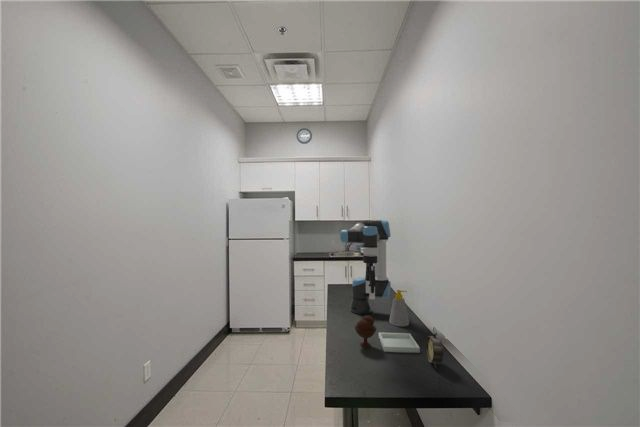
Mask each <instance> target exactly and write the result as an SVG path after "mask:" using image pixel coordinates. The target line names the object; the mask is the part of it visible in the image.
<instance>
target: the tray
mask: <svg viewBox="0 0 640 427" xmlns="http://www.w3.org/2000/svg"><path fill="white" fill-rule="evenodd" d="M378 339H380V340H379V342H380V344H381V347H382V349H383V352H384V353H412V354H416V353H417V354H420V351H421V350H420V349H421V348H420V346H419V344H418V343H417V342H416V340H415V339H414V337H413V336H412V334H411V333H410V332H409V333H407V332H378Z"/></svg>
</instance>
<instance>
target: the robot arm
mask: <svg viewBox="0 0 640 427" xmlns="http://www.w3.org/2000/svg"><path fill="white" fill-rule="evenodd" d="M339 237H340V238H339V240H340V242H341V243H343V244H344V243H346V244H351V243H352V244H362V245H363V246H362V249H361V250H362V253H363V256H362V262H363V263H364V264H366V265H365V276H362V277H355V278H354V279H353V280H352V285H351V286H352V287H351V288H352V290H351V292H352V294H351V295H352V296H351V297H352V300H351V301H350V302H351V303H350V306H349V311H350V312H351V313H354V314H356V315H357V314H358V315H366V314H368V315H369V313H372V306H371V303H370V300H376V298H378V299H388V298H389V297H390V291H391V283H392V282H391V281H390V280H389V277H388V276H387V242H388V241H389V238H391V228H390V223H389V221H388V220H381V219H380V220H375V219H373V220H362V221H359V222H357V223H355V224H354V225H353V226H352V227H351V228H349V229H342V230H341V231H340V236H339Z"/></svg>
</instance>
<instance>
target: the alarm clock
mask: <svg viewBox="0 0 640 427" xmlns="http://www.w3.org/2000/svg"><path fill="white" fill-rule="evenodd" d="M432 331H433V335H428V336H427V337H426V343H425V344H426V345H425V346H426V347H425V349H426V350H425V351H426V357H427V360H428V362H429V363H430V364H434V368H435V369H434V370H437V369H438V368H437V365H441V364H442V363H443V360H444V357H445V356H444V355H445V353H444V346H443V342H442V340H441V338H440V337H438V336H437V329H436V327H435V326H433V330H432Z"/></svg>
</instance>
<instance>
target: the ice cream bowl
mask: <svg viewBox="0 0 640 427" xmlns="http://www.w3.org/2000/svg"><path fill="white" fill-rule="evenodd" d="M354 329H355V332H356V333H357V334H358V336H359V337H361V338H362V339H363V341H362V342H360V344H359V346H360V347H361V348H363V349H369V348H371V347H372V345H371V343H370V342H368V339H369V338H371V337H373V336H374V335H375V334H376V332H377V326H375V320H374V318H373V317H372V316H371V315H364V316H363V317H362V318H360V320H358V321H357V322H356V324H355V325H354Z"/></svg>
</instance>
